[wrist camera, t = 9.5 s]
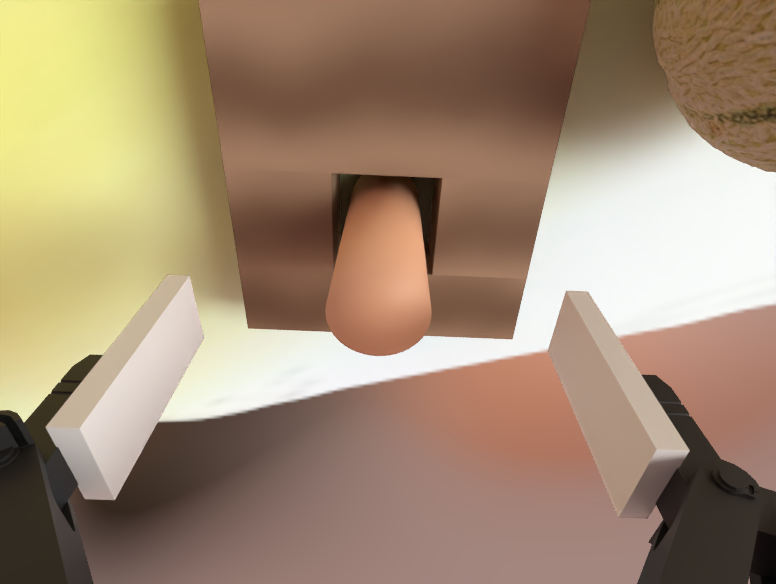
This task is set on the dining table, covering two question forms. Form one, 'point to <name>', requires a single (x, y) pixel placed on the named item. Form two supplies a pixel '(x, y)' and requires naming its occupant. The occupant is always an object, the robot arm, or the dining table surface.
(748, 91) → the cantaloupe
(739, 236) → the dining table surface
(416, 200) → the peg
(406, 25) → the socket block
